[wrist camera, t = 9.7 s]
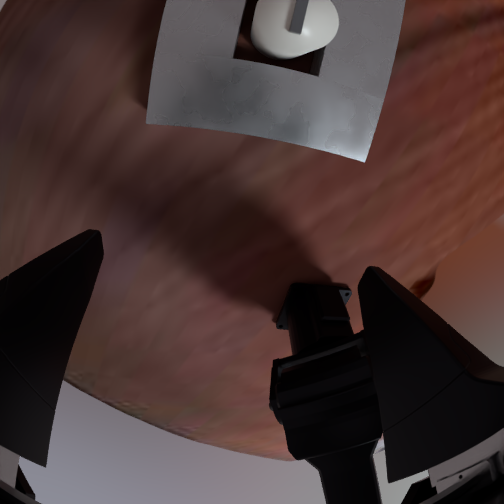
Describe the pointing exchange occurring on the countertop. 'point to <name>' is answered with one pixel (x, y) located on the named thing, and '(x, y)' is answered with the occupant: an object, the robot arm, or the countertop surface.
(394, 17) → the plate
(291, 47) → the knob
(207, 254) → the countertop surface
